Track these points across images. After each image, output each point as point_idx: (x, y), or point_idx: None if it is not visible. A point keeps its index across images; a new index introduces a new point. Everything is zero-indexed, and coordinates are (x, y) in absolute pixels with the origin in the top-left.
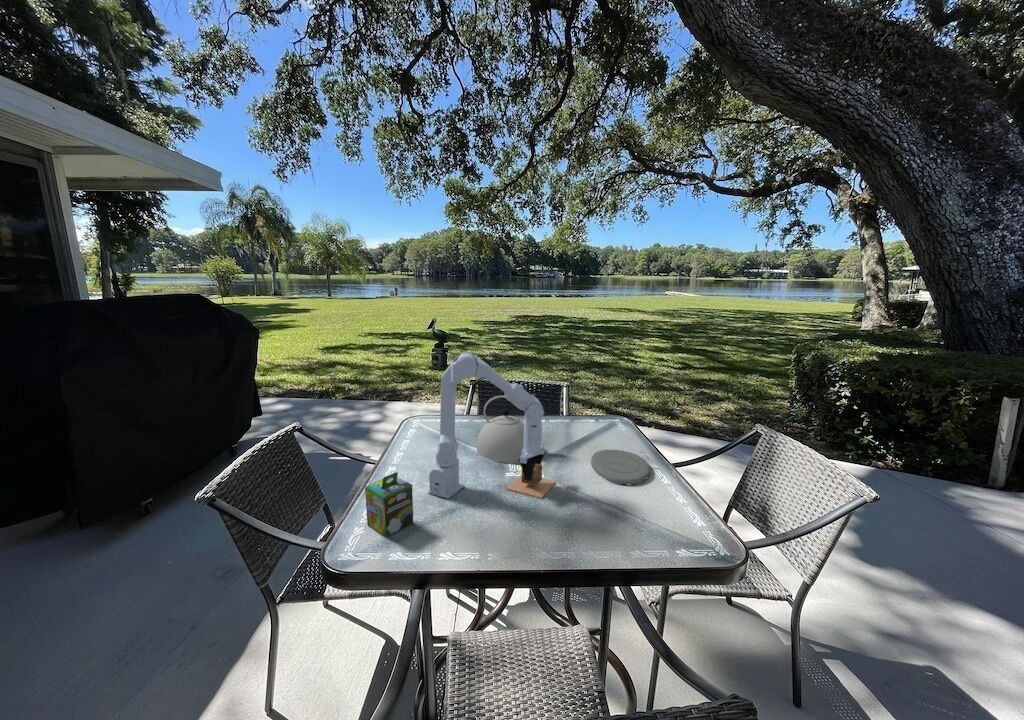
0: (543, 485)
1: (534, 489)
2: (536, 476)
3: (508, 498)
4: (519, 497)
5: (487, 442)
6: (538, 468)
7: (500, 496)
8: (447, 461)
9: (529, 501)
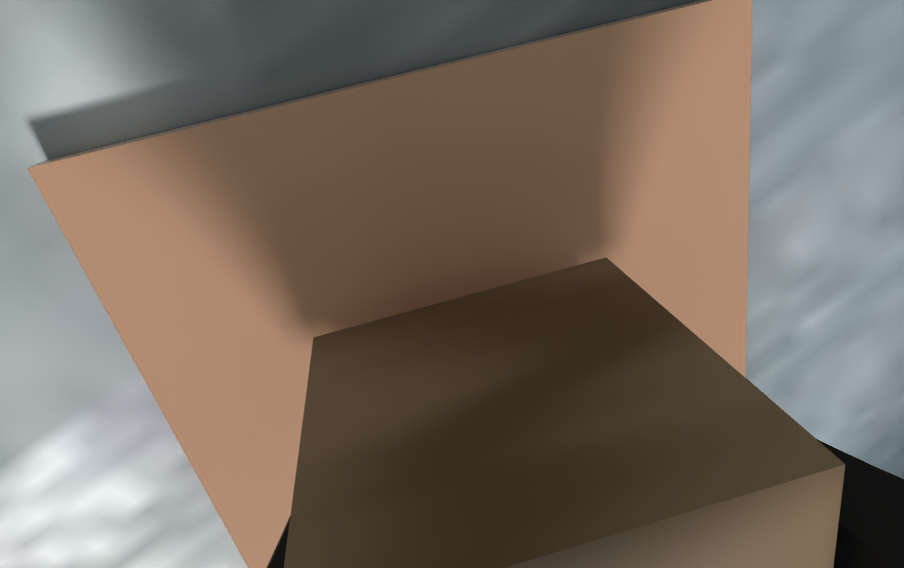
0: (363, 231)
1: (581, 251)
2: (691, 351)
3: (892, 350)
4: (822, 277)
5: None
6: (643, 530)
7: (881, 433)
8: None
9: (872, 103)
